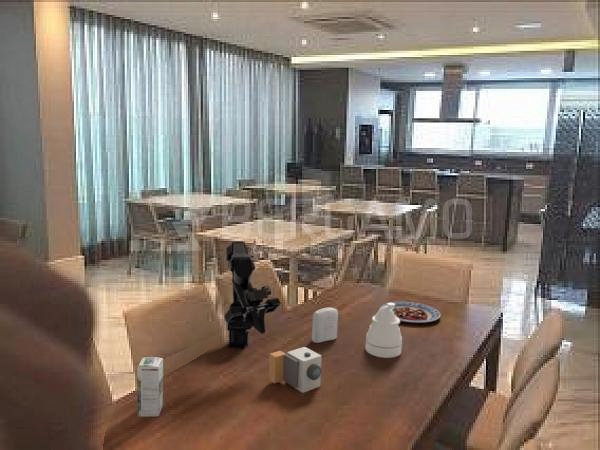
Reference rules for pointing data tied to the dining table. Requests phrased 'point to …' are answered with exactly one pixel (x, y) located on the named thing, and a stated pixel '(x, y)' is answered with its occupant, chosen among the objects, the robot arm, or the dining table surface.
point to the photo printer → (324, 325)
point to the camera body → (307, 368)
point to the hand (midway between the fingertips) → (263, 333)
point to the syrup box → (150, 386)
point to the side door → (283, 368)
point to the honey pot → (384, 334)
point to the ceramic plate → (414, 312)
